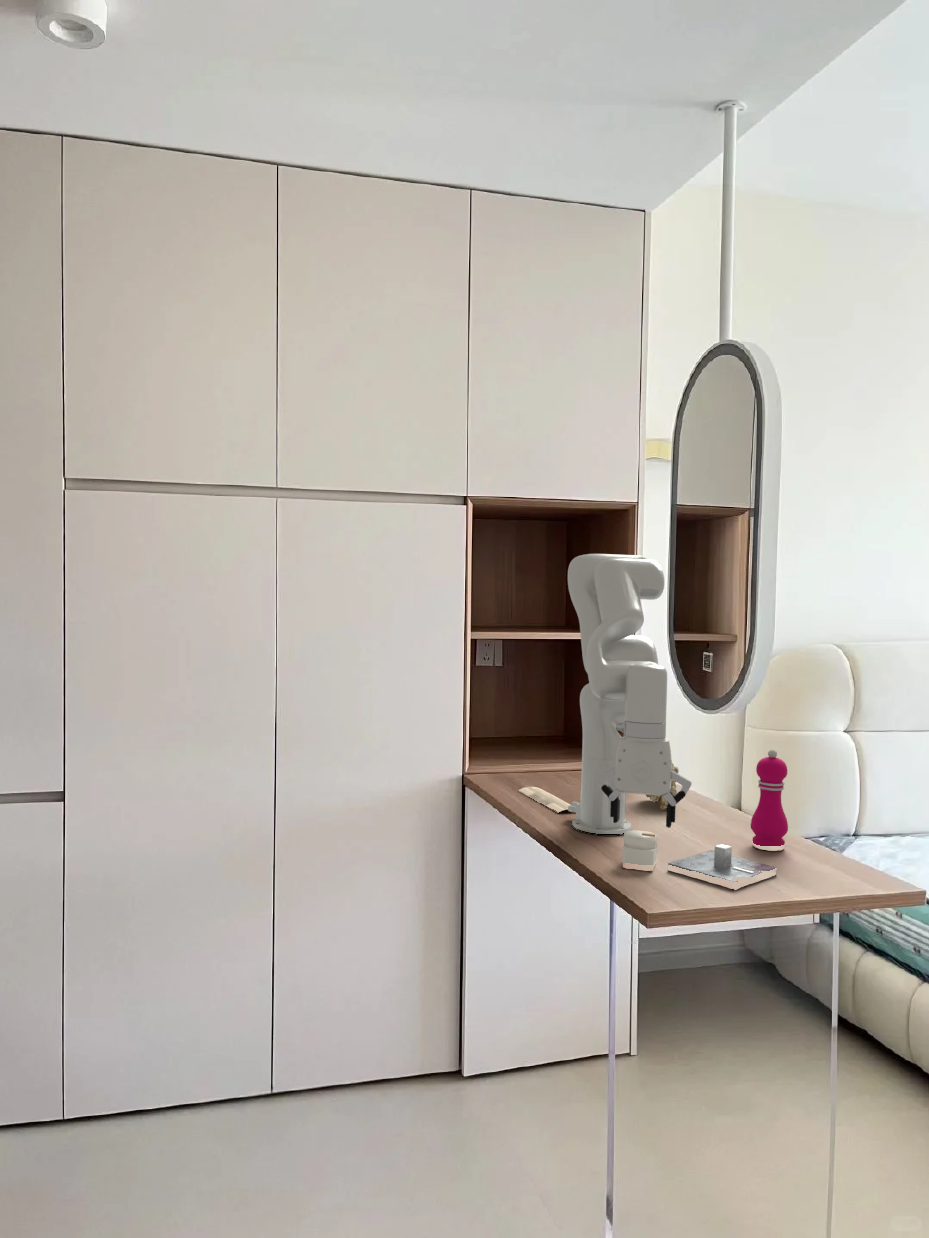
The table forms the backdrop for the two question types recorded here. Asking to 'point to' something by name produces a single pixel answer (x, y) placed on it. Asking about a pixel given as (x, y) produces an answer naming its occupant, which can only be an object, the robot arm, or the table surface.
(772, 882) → the table surface
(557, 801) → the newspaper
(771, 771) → the pepper mill
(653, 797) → the mineral formation
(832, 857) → the table surface
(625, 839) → the knob
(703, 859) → the grey thin square slab
